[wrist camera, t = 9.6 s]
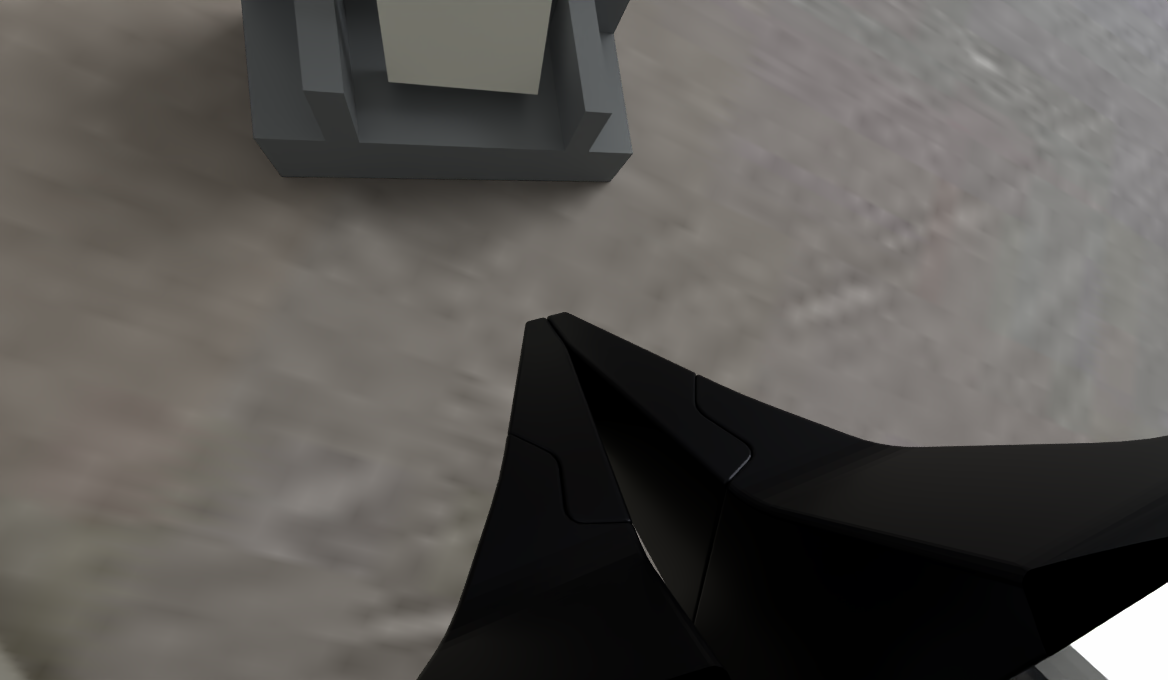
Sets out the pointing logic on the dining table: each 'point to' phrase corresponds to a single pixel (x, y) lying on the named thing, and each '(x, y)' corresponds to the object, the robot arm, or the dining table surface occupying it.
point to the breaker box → (430, 101)
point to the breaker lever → (465, 43)
